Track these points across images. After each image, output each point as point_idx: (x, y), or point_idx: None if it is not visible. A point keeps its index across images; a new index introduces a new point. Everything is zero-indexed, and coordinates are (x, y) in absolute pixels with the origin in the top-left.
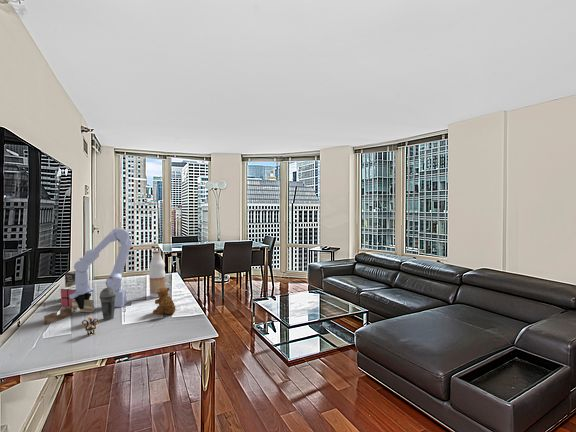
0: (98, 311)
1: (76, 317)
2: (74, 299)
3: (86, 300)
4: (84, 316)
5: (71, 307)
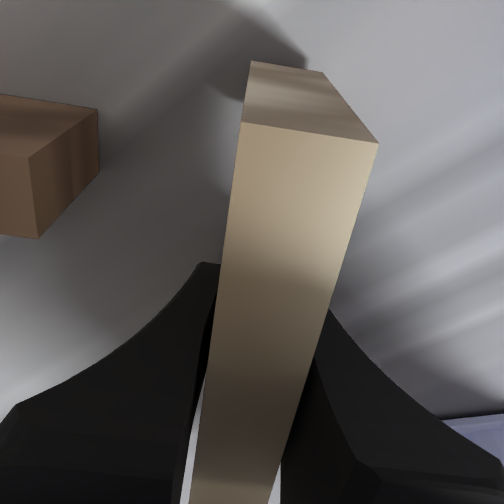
0: None
1: (12, 313)
2: (321, 174)
3: (213, 501)
4: (72, 376)
5: (36, 232)
